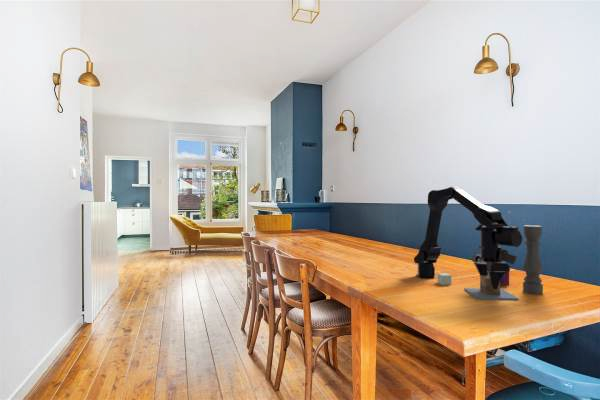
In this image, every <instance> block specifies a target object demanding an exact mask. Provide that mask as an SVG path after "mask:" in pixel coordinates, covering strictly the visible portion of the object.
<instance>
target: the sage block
mask: <svg viewBox="0 0 600 400" xmlns="http://www.w3.org/2000/svg"><path fill="white" fill-rule="evenodd" d="M437 284H439V285H442V286H451V285H452V275H451V274H449V273H447V272H444V273H442V272H441V273H439V272H438V273H437Z"/></svg>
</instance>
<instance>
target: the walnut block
mask: <svg viewBox="0 0 600 400" xmlns="http://www.w3.org/2000/svg"><path fill="white" fill-rule="evenodd" d="M479 279H480V280H479V287H480V288H479V289H480V291H481V292H482V293H484V294H485V295H500V289H501V285H500V282H499V285H498V288H497V289H493V287H492V284H491V281H490V278H489V275H480V274H479Z"/></svg>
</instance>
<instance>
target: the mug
mask: <svg viewBox="0 0 600 400" xmlns="http://www.w3.org/2000/svg"><path fill="white" fill-rule="evenodd" d="M509 285H510V271H509V272H508V273H505V274H504V275H502V277H501V279H500V286H509Z"/></svg>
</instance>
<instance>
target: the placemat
mask: <svg viewBox="0 0 600 400" xmlns="http://www.w3.org/2000/svg"><path fill="white" fill-rule="evenodd" d="M463 290H464V291H465V292H467V293H468V294H469V296H472V297H473V299H475V300H495V301H496V300H497V301H499V300H500V301H519V298H518V297H517V296H515V295H514V294H512V293H510V292H508V291H507V290H505V289H504V288H503V289H502V288H500V295H485V294H484V293H482V292H481V291H480V288H475V287H474V288H471V287H469V288H467V287H466V288H465V287H464V289H463Z"/></svg>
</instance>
